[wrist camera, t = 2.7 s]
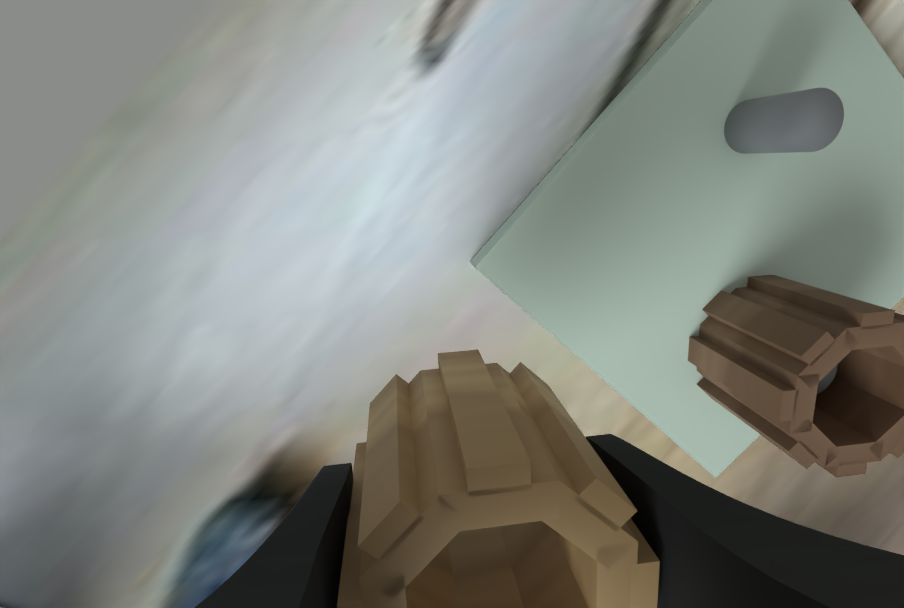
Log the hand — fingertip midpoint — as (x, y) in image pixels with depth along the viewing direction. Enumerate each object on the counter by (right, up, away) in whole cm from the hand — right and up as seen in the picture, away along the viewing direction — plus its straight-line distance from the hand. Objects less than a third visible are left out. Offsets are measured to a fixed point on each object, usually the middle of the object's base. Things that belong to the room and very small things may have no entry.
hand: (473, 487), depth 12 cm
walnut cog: (+11, +3, +8) cm, 14 cm away
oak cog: (0, 0, +1) cm, 2 cm away
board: (+10, +7, +8) cm, 15 cm away
